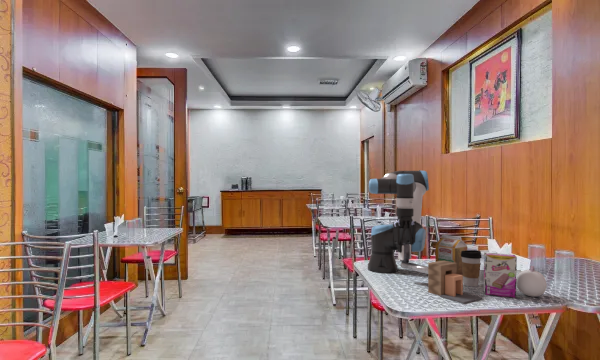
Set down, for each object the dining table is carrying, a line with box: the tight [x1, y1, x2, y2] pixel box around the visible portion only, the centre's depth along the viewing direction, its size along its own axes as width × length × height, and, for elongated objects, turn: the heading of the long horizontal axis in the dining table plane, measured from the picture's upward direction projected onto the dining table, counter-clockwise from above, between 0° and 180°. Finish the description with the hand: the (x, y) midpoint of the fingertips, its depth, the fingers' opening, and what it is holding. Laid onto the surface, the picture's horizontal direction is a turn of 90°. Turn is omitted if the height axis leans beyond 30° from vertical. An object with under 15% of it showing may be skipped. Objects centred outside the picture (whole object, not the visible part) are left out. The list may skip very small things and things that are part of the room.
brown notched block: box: [427, 260, 457, 297], centre depth 149 cm, size 6×10×12 cm, turn 122°
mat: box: [439, 291, 483, 305], centre depth 142 cm, size 10×12×1 cm
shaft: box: [399, 243, 428, 275], centre depth 159 cm, size 21×4×11 cm, turn 32°
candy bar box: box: [483, 251, 518, 299], centre depth 146 cm, size 11×5×16 cm, turn 71°
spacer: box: [445, 273, 464, 297], centre depth 144 cm, size 4×6×8 cm
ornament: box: [516, 265, 548, 298], centre depth 145 cm, size 10×10×12 cm
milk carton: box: [434, 234, 468, 275], centre depth 181 cm, size 11×11×19 cm
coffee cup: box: [461, 249, 483, 288], centre depth 161 cm, size 8×8×15 cm
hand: (404, 258), depth 166 cm, fingers closed on shaft, 4 cm apart
